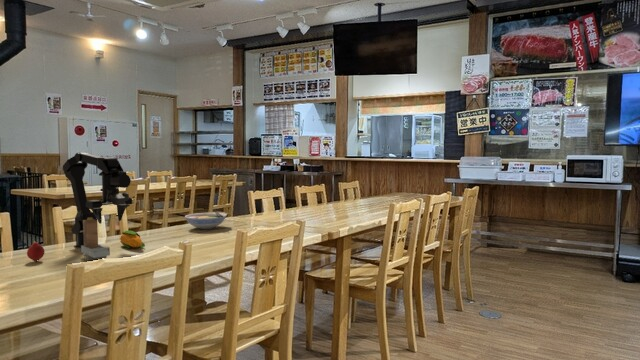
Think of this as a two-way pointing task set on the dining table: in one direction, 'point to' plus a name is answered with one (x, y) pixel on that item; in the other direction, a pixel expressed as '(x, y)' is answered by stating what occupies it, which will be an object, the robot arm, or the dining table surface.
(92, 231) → the brown rectangular block
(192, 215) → the ramen bowl
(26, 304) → the dining table surface
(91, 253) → the grey piece
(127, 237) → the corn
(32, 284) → the dining table surface
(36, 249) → the red oval piece
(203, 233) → the dining table surface
